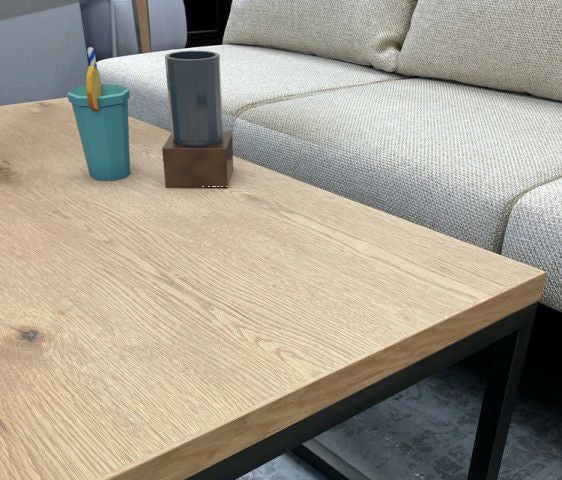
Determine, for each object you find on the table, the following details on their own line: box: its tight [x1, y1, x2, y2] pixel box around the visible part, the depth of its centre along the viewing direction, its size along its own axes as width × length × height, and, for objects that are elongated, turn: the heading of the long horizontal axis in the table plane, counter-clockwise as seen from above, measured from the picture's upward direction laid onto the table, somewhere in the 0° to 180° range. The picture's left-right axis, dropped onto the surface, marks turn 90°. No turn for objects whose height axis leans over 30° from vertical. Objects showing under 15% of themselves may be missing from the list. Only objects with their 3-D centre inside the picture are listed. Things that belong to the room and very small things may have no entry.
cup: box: [66, 46, 131, 181], centre depth 91 cm, size 14×8×15 cm, turn 17°
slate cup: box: [164, 50, 224, 146], centre depth 87 cm, size 6×6×10 cm
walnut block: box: [161, 131, 234, 188], centre depth 91 cm, size 8×8×5 cm
